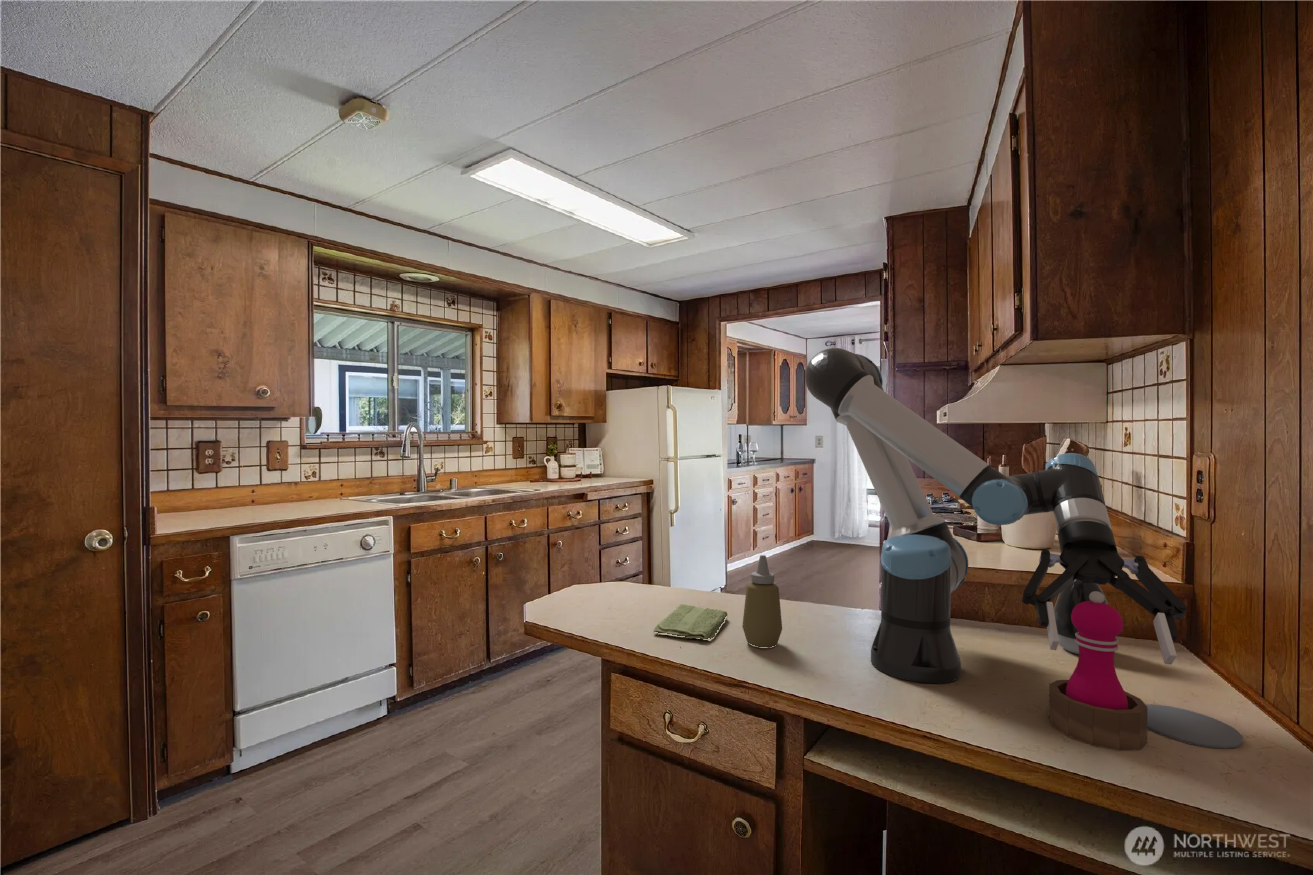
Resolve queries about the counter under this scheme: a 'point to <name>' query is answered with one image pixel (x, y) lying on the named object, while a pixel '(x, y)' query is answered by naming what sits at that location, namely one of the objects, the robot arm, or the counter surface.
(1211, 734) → the coaster
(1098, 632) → the pepper mill
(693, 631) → the washcloth
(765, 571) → the squeeze bottle
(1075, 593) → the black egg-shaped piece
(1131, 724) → the brown wooden bowl
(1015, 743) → the counter surface
